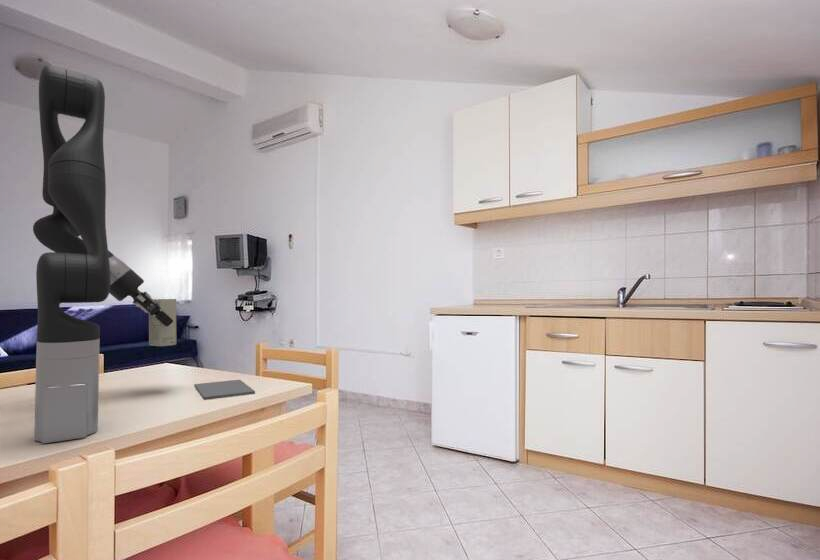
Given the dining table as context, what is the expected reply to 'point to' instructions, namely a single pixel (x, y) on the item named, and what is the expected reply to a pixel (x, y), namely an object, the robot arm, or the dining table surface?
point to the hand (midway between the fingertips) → (169, 323)
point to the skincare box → (158, 330)
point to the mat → (223, 389)
